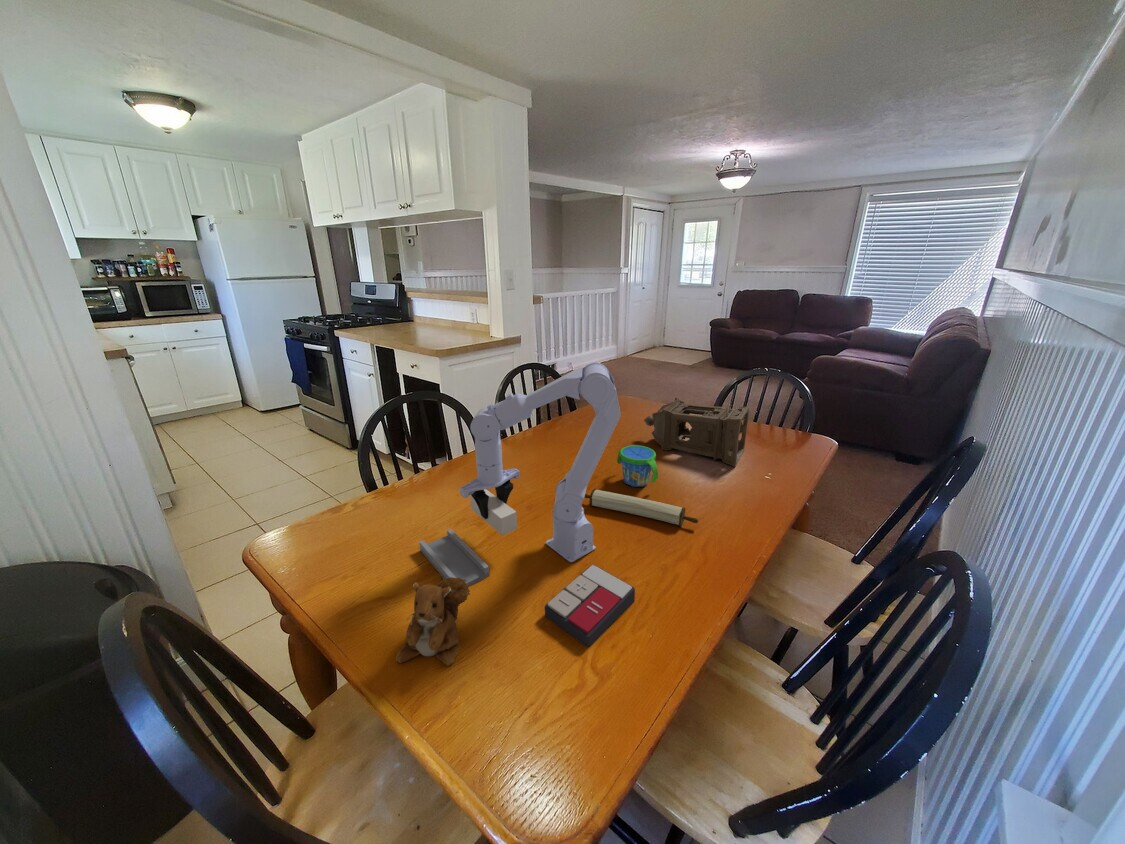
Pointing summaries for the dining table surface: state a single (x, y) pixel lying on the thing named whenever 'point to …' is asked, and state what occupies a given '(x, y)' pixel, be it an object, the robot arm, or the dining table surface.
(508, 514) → the white rectangular block
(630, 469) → the snack cup
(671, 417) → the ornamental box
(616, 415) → the robot arm
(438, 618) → the stuffed squirrel
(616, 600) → the calculator
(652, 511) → the rolling pin
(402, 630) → the dining table surface
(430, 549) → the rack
